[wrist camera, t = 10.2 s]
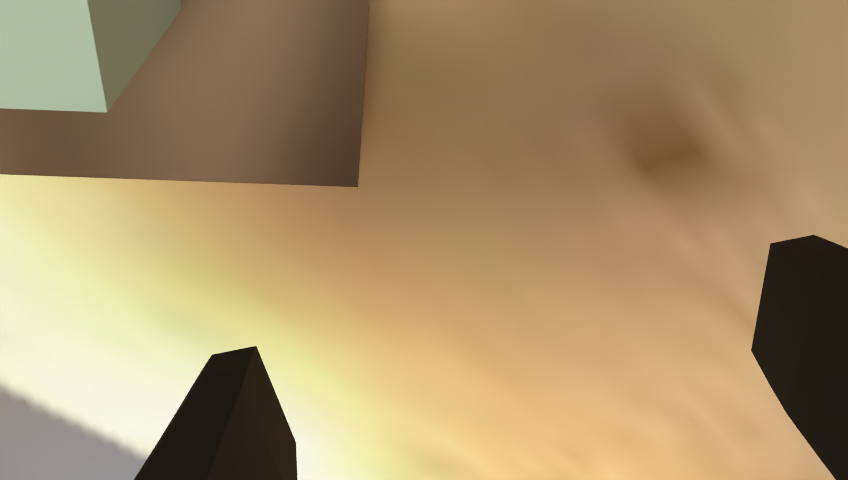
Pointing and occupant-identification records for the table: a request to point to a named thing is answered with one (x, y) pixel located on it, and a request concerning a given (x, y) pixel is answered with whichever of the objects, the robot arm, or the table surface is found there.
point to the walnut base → (219, 102)
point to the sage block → (75, 50)
